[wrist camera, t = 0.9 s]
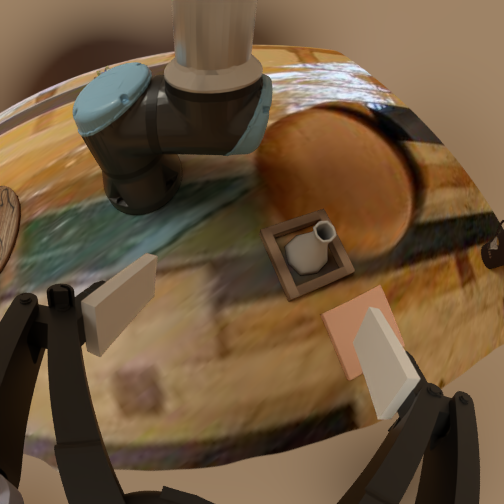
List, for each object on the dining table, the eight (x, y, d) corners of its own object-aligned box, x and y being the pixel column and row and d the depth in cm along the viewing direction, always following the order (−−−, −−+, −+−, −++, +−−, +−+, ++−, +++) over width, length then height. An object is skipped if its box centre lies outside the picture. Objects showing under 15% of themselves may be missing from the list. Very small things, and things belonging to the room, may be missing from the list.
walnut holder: (259, 234, 46) (260, 229, 44) (320, 213, 48) (323, 208, 46) (288, 301, 43) (291, 299, 41) (350, 274, 45) (355, 271, 43)
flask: (312, 228, 47) (332, 200, 38) (333, 264, 45) (358, 243, 36) (277, 244, 46) (289, 218, 36) (297, 283, 44) (316, 265, 34)
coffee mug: (491, 280, 48) (519, 268, 38) (475, 255, 49) (503, 241, 40) (500, 251, 51) (524, 238, 42) (485, 228, 53) (509, 212, 43)
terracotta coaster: (320, 314, 42) (322, 313, 41) (376, 286, 45) (380, 284, 44) (347, 379, 39) (350, 380, 38) (401, 346, 41) (404, 345, 40)
